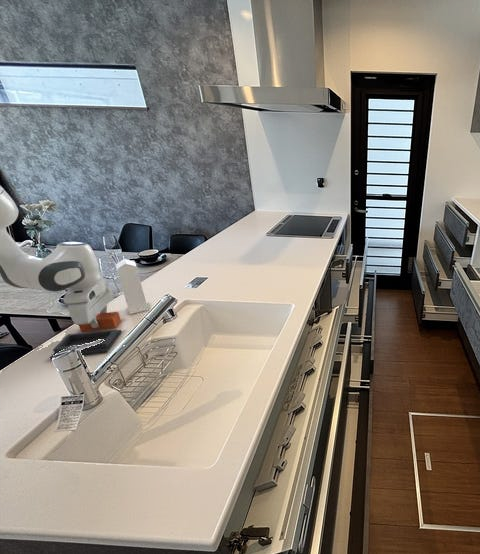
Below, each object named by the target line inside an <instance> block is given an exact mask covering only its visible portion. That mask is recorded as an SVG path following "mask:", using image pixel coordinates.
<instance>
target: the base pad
mask: <svg viewBox="0 0 480 554" xmlns="http://www.w3.org/2000/svg"><path fill="white" fill-rule="evenodd" d="M121 334H122V330H121V329H117V328H113V329H104V330H94V331H85V332H78V333H70V334H67V335H66V336H65V337H64V338H63V339H62V340H61V341H60V342H59V343H58V344H56V346H55V347H54V348H53V349H52V352H53V353H52V354H51V355H50V356H49V358H50V361H53V360H52V357H53V355H55V354H56V353H58V352H59V351H61V350H63V349H66V348H68V347H70V346H73V345H82V344H85V343H90V342H93V341H96V340H98V339H104V340H105V341H103V342H102V343H100V344H97V345H95V346H91V347H89V348H85V349H83V350H81V353H82V355H83V356H82V357H86V356H92V355H93V356H94V355H100V354H107V353H108V352H109V350H110V349H111V348H112V346H113V345H114V344H115V342H116V341H117V339H118V338H119V337H120V335H121Z"/></svg>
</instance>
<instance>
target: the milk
mask: <svg viewBox="0 0 480 554" xmlns="http://www.w3.org/2000/svg"><path fill="white" fill-rule="evenodd" d="M122 257H123V259H122V260H120V261H118V262H117V263H116V264H115V268H116V274H117V277H118V280H119V283H120V286H121V289H122V293H123V296H124V299H125V303H126V306H127V309H128V312H129V315H133V314H137V313H141V312H146V311H149V306H148V304H147V300H146V299H147V298H146V295H145V292H144V289H143V286H142V281H141V278H140V273H139V271H138V267H137V264H136V261H134V260H130V259H127V258H125V256H124V255H122ZM144 308H145V309H144ZM140 309H141V310H140Z"/></svg>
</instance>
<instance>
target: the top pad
mask: <svg viewBox="0 0 480 554" xmlns="http://www.w3.org/2000/svg"><path fill="white" fill-rule="evenodd" d="M96 321H99V324H100V325H99V326H98V327H97V328H92V326H91V324H90V323H89V324H84V325H78V327H79V330H80V333H84V332H93V331H102V330H112V329H117V328H118V325H119V324H120V323H121V322H122V319H121V316H120V313H119V311H111V312H107V313H99V314H98V315H97V316H96Z"/></svg>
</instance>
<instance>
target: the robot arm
mask: <svg viewBox="0 0 480 554" xmlns="http://www.w3.org/2000/svg"><path fill="white" fill-rule="evenodd" d="M19 212H20V211H19V208H18V206H17V204H16V202H15V200H13V198H12V197H11V196H10V194H9V193H8V192H7V191H6V190H5V188H3V187H2V185H0V277H1V279H2V280H3V281H4V283H6V284H7V285H9V286H10V287H14V288H18V289H32V290H37V291H45V292H62V291H65V290H66V293H65V294H64V296H63V298H62V300H63V303H64V304H66V305H67V310H68V314H69V316H70V318H71V320H72V322H73V324H74V325H77V326H79V325H84V324H89V323H90V324H91V326H92V328H97V327H98V326H99V325H100V324H99V321H96V316H97V315H98V314H99V313H108V304H109V303H110V302H111V301H112V300H114V294H113V291H112V288H111V286H110V285H109V283H108V282H106V280H105V278H104V277H103V275H102V273H101V272H100V270H99V269H100V268H99V267H100V265H99V262H98V259H97V256H96V254H95V251H94V250H93V248H92V247H91V245H90V244H88V243H86V242H82V241H62V242H60V243H57V244H56V247H55V249H54V250H53V251H52V252H51V253H50V254H48V255H47V256H45V257H43V258H42V257H37V256H33V255H31V254H28V253H27V252H25V251H24V250H23V249H22V248H21V246H19V244H17V242H16V241H15V240H14V238H13V237H12V236H11V234H9V232H8V230H7V227H10V226H12V224H14V223H15V222H16V221H17V219H18V217H19Z"/></svg>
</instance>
